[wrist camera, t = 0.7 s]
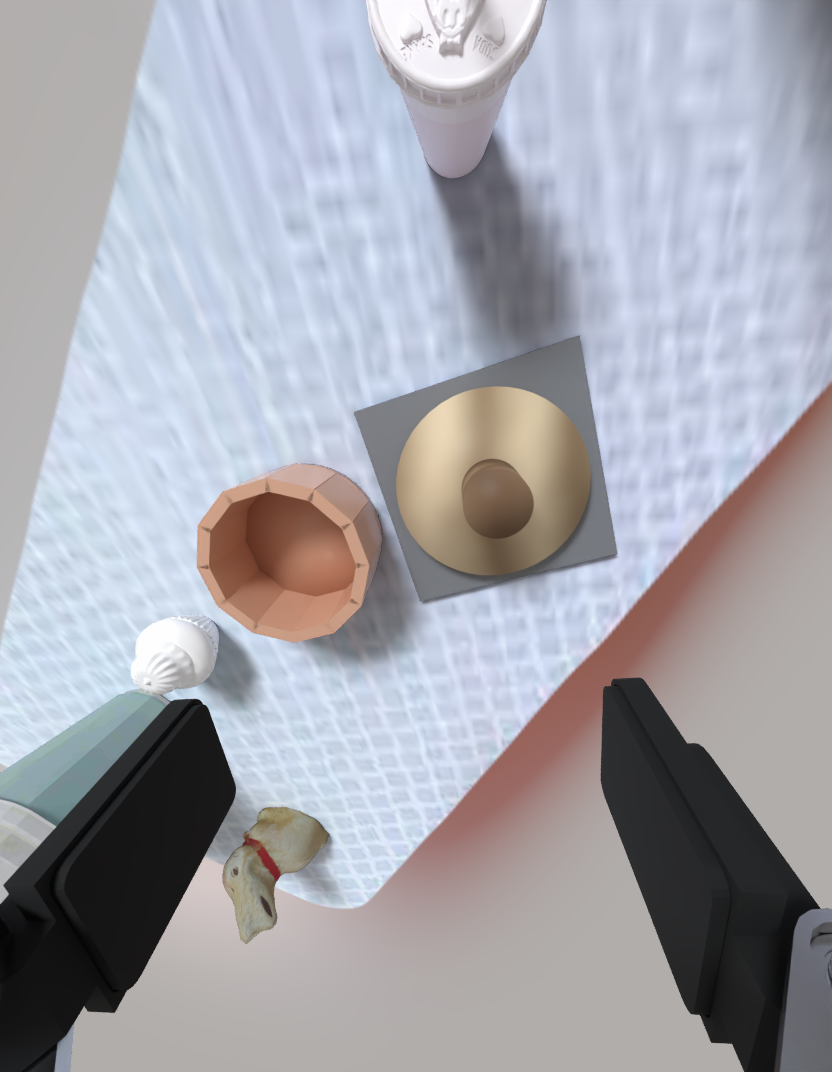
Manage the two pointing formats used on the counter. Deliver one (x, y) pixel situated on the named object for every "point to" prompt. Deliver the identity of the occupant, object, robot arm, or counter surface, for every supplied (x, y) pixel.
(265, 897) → the chocolate bunny
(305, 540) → the bowl
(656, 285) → the counter surface
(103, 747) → the disposable coffee cup
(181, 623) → the white cupcake
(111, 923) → the robot arm
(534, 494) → the lid
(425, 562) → the mat
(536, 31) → the smoothie
